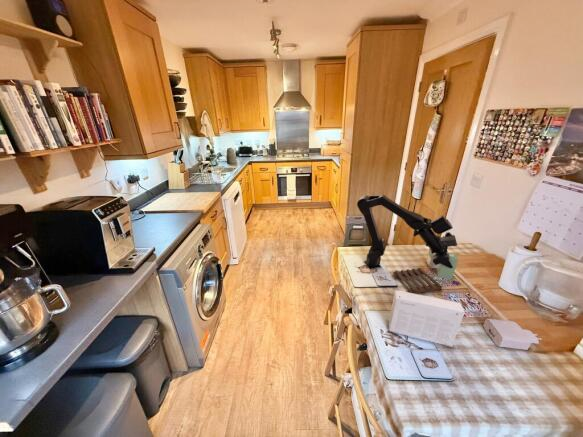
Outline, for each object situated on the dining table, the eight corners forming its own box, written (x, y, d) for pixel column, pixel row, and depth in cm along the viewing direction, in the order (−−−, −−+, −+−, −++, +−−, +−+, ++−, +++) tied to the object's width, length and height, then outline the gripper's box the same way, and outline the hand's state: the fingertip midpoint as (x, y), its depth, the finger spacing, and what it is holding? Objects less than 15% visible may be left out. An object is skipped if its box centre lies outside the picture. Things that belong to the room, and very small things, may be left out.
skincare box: (448, 334, 85) (461, 302, 79) (452, 347, 81) (466, 314, 74) (387, 320, 92) (395, 288, 85) (388, 331, 87) (395, 299, 80)
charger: (547, 353, 78) (498, 347, 80) (526, 330, 87) (482, 325, 89) (553, 344, 76) (503, 338, 79) (531, 321, 85) (486, 317, 87)
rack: (410, 295, 104) (411, 290, 103) (392, 276, 116) (393, 271, 115) (441, 290, 107) (442, 285, 105) (420, 272, 119) (421, 267, 118)
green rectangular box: (437, 276, 109) (444, 255, 104) (436, 270, 113) (443, 250, 108) (451, 280, 106) (458, 259, 101) (450, 273, 111) (457, 253, 106)
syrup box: (440, 268, 122) (448, 245, 116) (428, 267, 123) (435, 244, 117) (437, 262, 127) (444, 239, 121) (425, 261, 128) (431, 238, 122)
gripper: (449, 239, 94) (473, 269, 94) (446, 222, 109) (467, 247, 109) (423, 250, 101) (445, 278, 101) (423, 232, 116) (443, 257, 116)
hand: (451, 264), depth 106 cm, fingers closed on green rectangular box, 5 cm apart
